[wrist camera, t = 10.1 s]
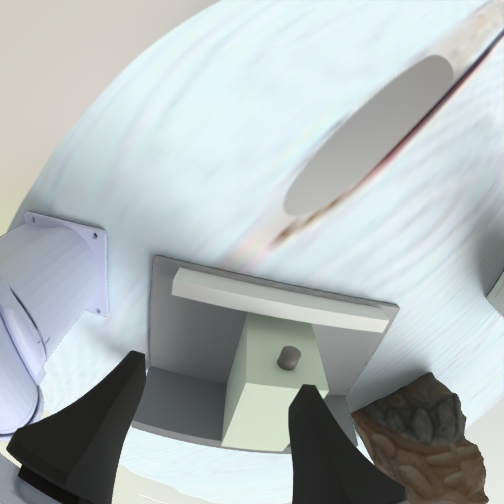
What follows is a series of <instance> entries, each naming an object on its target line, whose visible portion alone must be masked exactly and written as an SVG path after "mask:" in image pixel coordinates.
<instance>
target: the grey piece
mask: <svg viewBox="0 0 504 504" xmlns="http://www.w3.org/2000/svg"><path fill="white" fill-rule="evenodd" d="M399 310H400V307H399V306H398V305H394V304H388V303H383V302H377V301H372V300H366V299H361V298H355V297H350V296H345V295H339V294H334V293H329V292H324V291H319V290H314V289H309V288H304V287H299V286H294V285H289V284H284V283H279V282H275V281H270V280H265V279H260V278H256V277H251V276H246V275H242V274H237V273H233V272H228V271H224V270H219V269H215V268H210V267H206V266H201V265H197V264H193V263H188V262H184V261H180V260H175V259H171V258H167V257H163V256H159V255H155V257H154V260H153V273H152V289H151V311H150V368H149V370H148V373H147V376H146V384H145V387H144V391H143V394H142V398H141V401H140V403H139V405H138V408H137V410H136V413H135V415H134V417H133V420H132V422H131V425H132V427H133V428H136V429H139V430H143V431H146V432H149V433H153V434H156V435H160V436H164V437H168V438H172V439H176V440H180V441H185V442H189V443H194V444H200V445H205V446H211V447H217V448H224V449H231V450H239V451H249V452H260V453H277V454H292V453H291V445H290V443H289V444H288V445H287V447H286V448H285V449H284V450H283V451H263V450H251V449H241V448H233V447H225V446H221V442H222V431H223V420H224V409H225V399H226V388H227V382H228V378H229V375H230V372H231V368H232V365H233V361H234V358H235V354H236V351H237V347H238V344H239V341H240V337H241V334H242V330H243V327H244V323H245V320H246V316H247V313H248V312H252V313H257V314H262V315H267V316H273V317H278V318H284V319H289V320H295V321H301V322H307V323H311V324H312V328H313V331H314V335H315V338H316V342H317V346H318V350H319V353H320V357H321V361H322V365H323V368H324V372H325V376H326V380H327V384H328V388H329V392H328V393H327V395H326V396H325V398H324V399H323V400H324V401H325V403H326V405H327V406H328V408H329V410H330V411H331V413H332V415H333V416H334V418H335V419H336V421H337V422H338V424H339V426H340V427H341V428H342V430H343V431H344V433H345V434H346V435H347V437H348V438H349V439H350V441H351V442H352V443H353V444H354V445H355V447H356V446H358V443H357V439H356V435H355V431H354V428H353V424H352V420H351V417H350V413H349V410H348V406H347V402H346V399H345V396H344V395H345V394H346V393H347V391H348V390H349V389H350V387H351V386H352V385H353V383H354V382H355V380H356V379H357V378H358V376H359V375H360V373H361V372H362V370H363V369H364V368H365V366H366V365H367V363H368V362H369V360H370V359H371V357H372V355H373V354H374V352H375V351H376V349H377V348H378V346H379V344H380V343H381V341H382V339H383V338H384V336H385V334H386V333H387V331H388V329H389V328H390V326H391V324H392V322H393V321H394V319H395V317H396V315H397V313H398V312H399Z"/></svg>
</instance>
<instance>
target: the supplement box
mask: <svg viewBox="0 0 504 504" xmlns="http://www.w3.org/2000/svg"><path fill="white" fill-rule="evenodd" d="M486 299H487V300H488V301H489V302H490V303H491V304H492V305H493V307H494V308H495V309H496V310H497V311H498V312H499V313H500V315H501V316H502V317H503V318H504V272H503V273H502V275H501V276H500V278H499V280H498V281H497V283H496V284H495V286H494V287H493V289H492V290H491V292H490V293H489V294H488V296H487V298H486Z"/></svg>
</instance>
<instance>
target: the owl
mask: <svg viewBox="0 0 504 504" xmlns="http://www.w3.org/2000/svg"><path fill="white" fill-rule="evenodd" d="M351 415H352V417H353V418H354V420H355V429H356V431H357V433H358V434H359V436H360V438H361V440H362V441H363V443H364V445H365V447H366V449H367V451H368V453H369V455H370V458H371V459H372V461H373V463H374V465H375V466H376V467H377V468H378V469H379V470H380V471H382V472H383V473H384V474H386V475H387V476H389V477H390V478H392V479H393V480H395V481H396V482H398V483H400V484H401V485H403V486H405V489H406V492H407V496H408V499H409V500H408V502H407V503H406V504H486V503H488V501H489V499H488V497H487V496H486V495H485V493H484V484H485V477H486V470H485V466H484V465H483V460H484V459H483V457H482V456H481V452H480V451H479V449H478V447H477V445H476V444H473V443H471V442H469V441H468V440H466V439H465V436H464V430H465V423H466V417H465V416H464V415H463V413H462V411H461V402H460V400H459V397H458V396H457V394H455V393H452V392H451V391H450V390H449V389H448V388H447V387H446V386H445V385H444V384H442V383H441V382H439V381H438V380H437V379H435V377H434V375H433V373H432V372H431V373H427V374H425V375H423V376H421V377H420V378H418V379H416V380H415V381H414V382H412V383H411V384H409V385H408V386H404V387H402V388H400V389H399V390H398V391H396V392H394V393H392V394H390V395H388V396H387V397H385V398H382V399H379V400H377V401H375V402H373V403H371V404H369V405H368V406H366V407H364V408H362V409H360V410H358V411H356V412H353V413H352V414H351Z"/></svg>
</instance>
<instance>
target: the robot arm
mask: <svg viewBox="0 0 504 504" xmlns="http://www.w3.org/2000/svg"><path fill="white" fill-rule="evenodd" d="M94 233H96V234H97V237H96V236H95V235H94ZM99 309H100V310H99ZM85 310H87V311H89V312H92V313H95V314H98V315H101V316H104V317H106V316H107V315H108V314H109V299H108V276H107V233H106V232H105V231H104V230H102V229H98V228H94V227H90V226H86V225H82V224H78V223H73V222H69V221H65V220H61V219H57V218H53V217H49V216H45V215H41V214H37V213H33V212H29V211H28V212H26V213H25V214H24V224H22V225H20V226H18V227H17V228H15V229H13V230H11V231H9V232H8V233H6V234H4V235H2V236H1V237H0V441H5V442H9V444H8V446H7V448H6V449H7V451H8V452H9V453H10V454H11V455H12V456H13V457H14V458H15V459H16V460H17V461H19V462H20V463H21V464H22V466H21V468H19V467H18V466H16V465H15V464H14V463H12V462H11V461H10V460H8V459H7V458H6V457H4V456H3V455H2V454H1V453H0V503H1V504H111V503H112V495H113V488H114V482H115V477H116V472H117V467H118V463H119V458H120V454H121V450H122V447H123V443H124V440H125V437H126V434H127V432H128V429H129V427H130V425H131V422H132V420H133V417H134V415H135V413H136V410H137V408H138V405H139V403H140V401H141V398H142V394H143V391H144V387H145V384H146V369H145V354H143V353H139V352H136V351H133V350H132V351H130V352H129V353H128V355H127V356H126V357H125V358H124V359H123V360H122V361H121V362H120V363H119V364H118V365H117V366H116V367H115V368H114V369H113V370H112V371H111V372H110V373H109V374H108V375H107V376H106V377H105V378H104V379H103V380H102V381H101V382H99V383H98V384H97V385H96V386H95V387H94V388H92V389H91V390H90V391H89V392H87V393H86V394H85V395H84V396H82V397H81V398H79V399H78V400H77V401H75V402H74V403H72V404H71V405H69V406H67V407H66V408H64V409H62V410H61V411H59V412H57V413H55V414H53V415H51V416H49V417H47V418H44V419H42V420H40V419H41V417H42V413H43V409H44V398H43V394H42V390H41V388H40V386H39V385H40V383H41V381H42V380H43V378H44V377H45V375H46V373H45V370H44V364H45V362H46V361H47V360H48V358H49V357H50V356H51V354H52V353H53V351H54V350H55V349H56V347H57V346H58V345H59V343H60V342H61V341H62V339H63V338H64V337H65V335H66V334H67V333H68V332H69V330H70V329H71V328H72V326H73V325H74V324H75V323H76V321H77V320H78V319H79V318H80V316H81V315H82V314H83V313H84V311H85ZM288 429H289V437H290V445H291V453H292V461H293V500H292V504H406V503H407V502H408V500H409V499H408V496H407V492H406V489H405V486H403V485H401V484H400V483H398V482H396V481H395V480H393V479H392V478H390V477H389V476H387V475H386V474H384V473H383V472H382V471H380V470H379V469H378V468H377V467H376V466H375V465H373V464H372V463H371V462H370V461H369V460H368V459H367V458H366V457H365V456H364V455H363V454H362V453H361V452H360V451H359V450H358V449H357V448H356V447H355V445H354V444H353V443H352V442H351V441H350V439H349V438H348V437H347V435H346V434H345V433H344V431H343V430H342V428H341V427H340V426H339V424H338V422H337V421H336V419H335V418H334V416H333V415H332V413H331V411H330V410H329V408H328V406H327V405H326V403H325V401H324V400H323V398H322V396H321V394H320V393H319V391H318V389H317V387H316V386H315V385H309V384H303V385H302V386H301V388H300V390H299V391H298V393H297V395H296V396H295V398H294V400H293V401H292V403H291V404H290V406H289V408H288Z"/></svg>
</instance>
